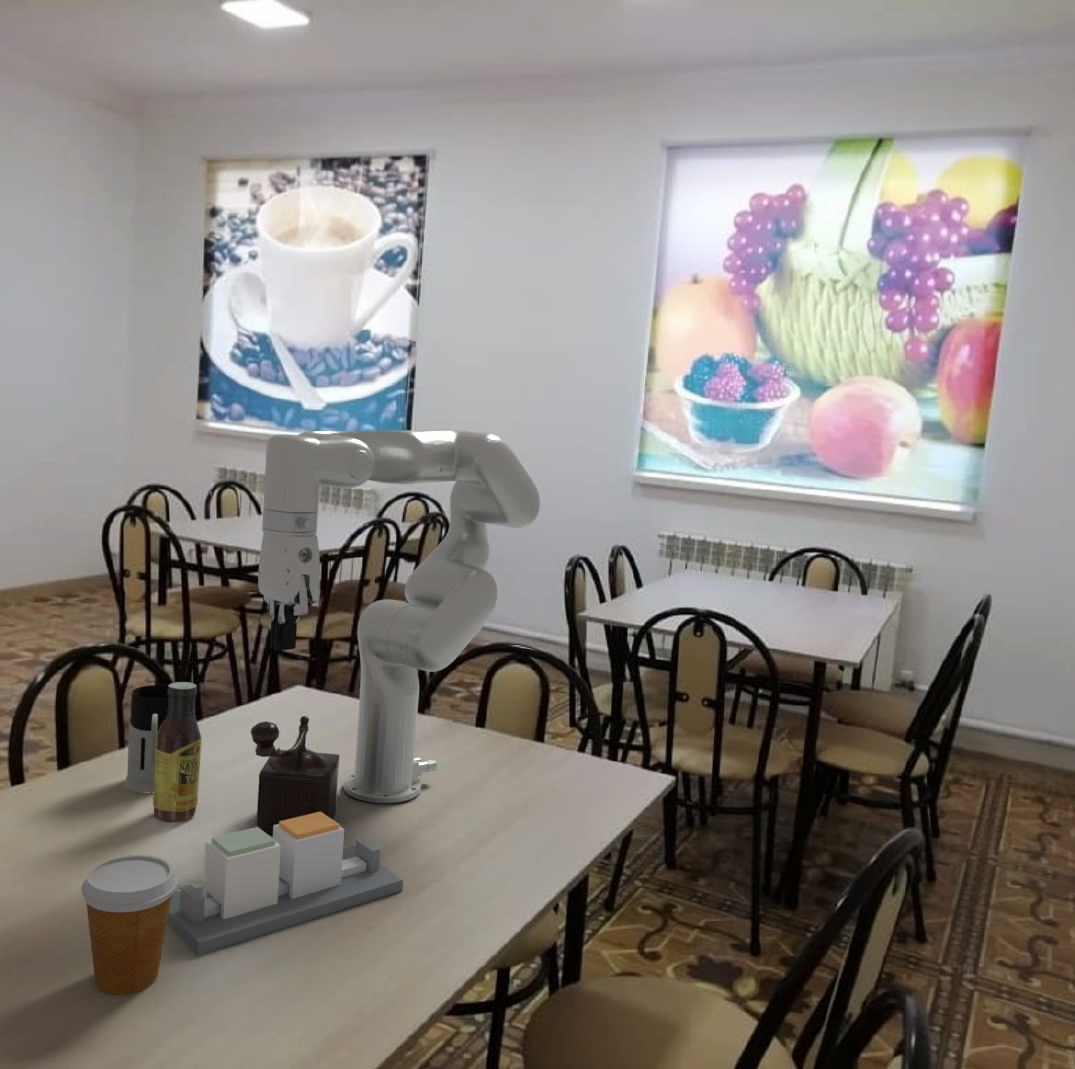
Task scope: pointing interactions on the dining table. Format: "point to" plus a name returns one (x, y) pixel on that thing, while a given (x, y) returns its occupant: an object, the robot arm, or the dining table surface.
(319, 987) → the dining table surface
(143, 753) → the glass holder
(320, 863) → the module
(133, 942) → the disposable coffee cup
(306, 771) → the pepper mill
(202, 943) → the rail board
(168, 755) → the sauce bottle
